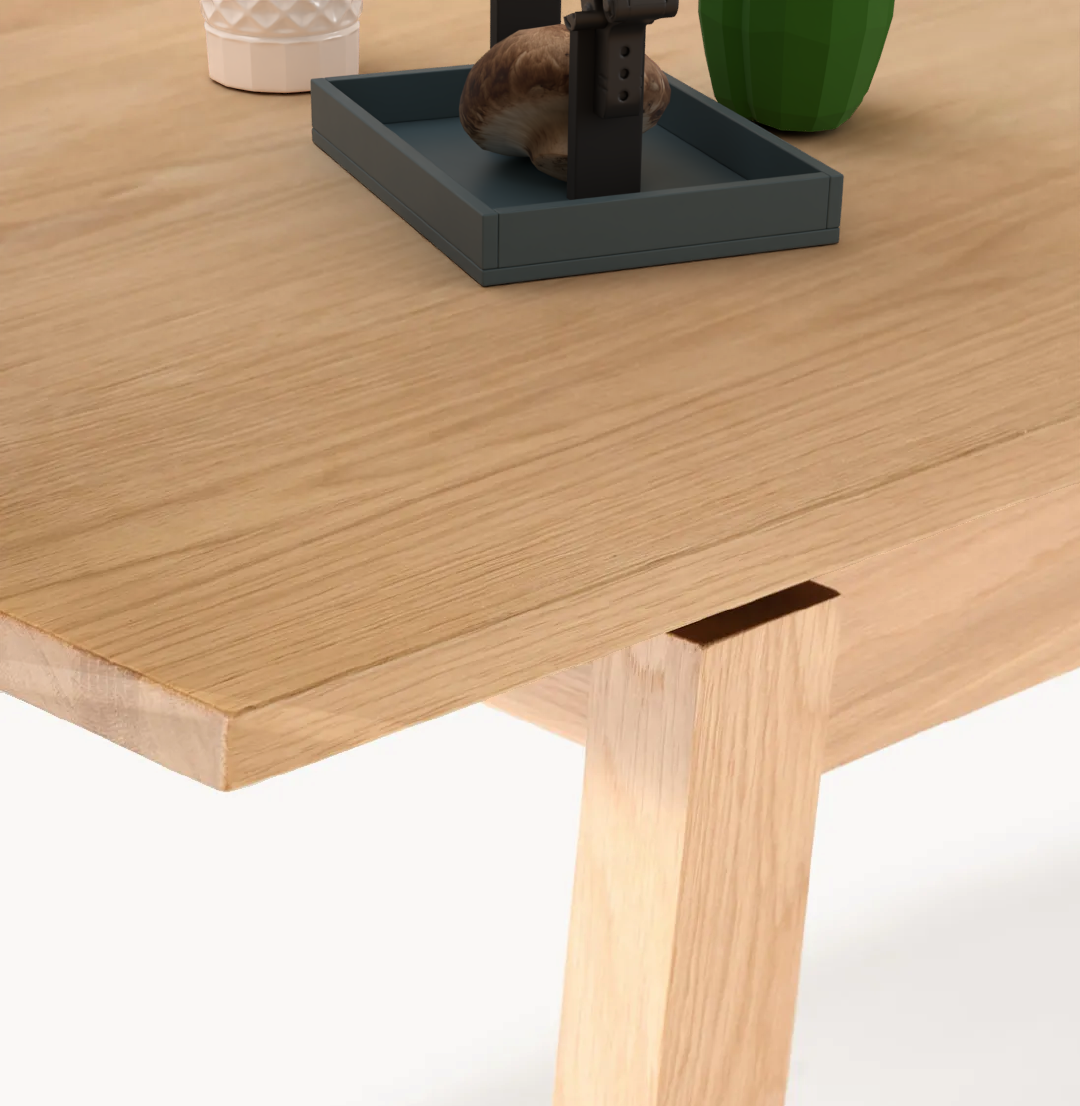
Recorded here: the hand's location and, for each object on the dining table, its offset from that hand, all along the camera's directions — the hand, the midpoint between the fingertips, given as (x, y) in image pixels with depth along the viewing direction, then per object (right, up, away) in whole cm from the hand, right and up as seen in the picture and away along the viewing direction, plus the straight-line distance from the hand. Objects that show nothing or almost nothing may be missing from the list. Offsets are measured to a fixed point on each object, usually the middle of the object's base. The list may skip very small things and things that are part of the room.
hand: (562, 167), depth 98 cm
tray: (0, -1, 0) cm, 1 cm away
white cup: (-12, +7, +15) cm, 21 cm away
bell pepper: (+10, +4, +10) cm, 14 cm away
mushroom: (0, 0, 0) cm, 1 cm away
